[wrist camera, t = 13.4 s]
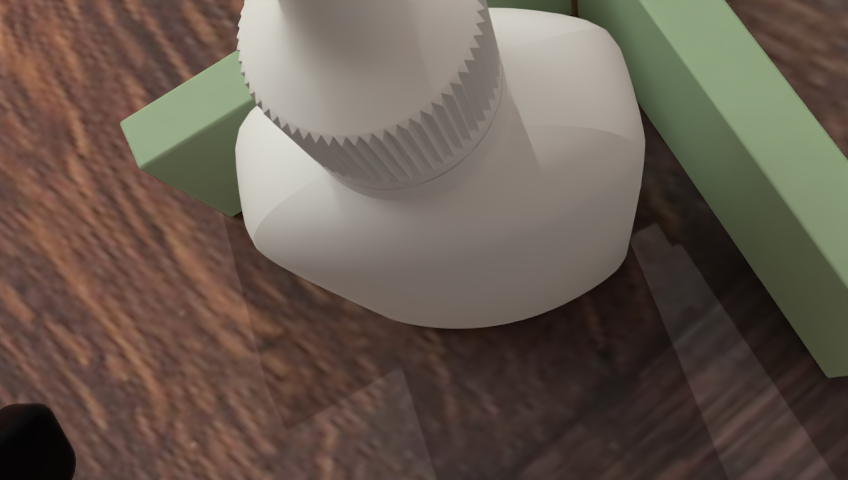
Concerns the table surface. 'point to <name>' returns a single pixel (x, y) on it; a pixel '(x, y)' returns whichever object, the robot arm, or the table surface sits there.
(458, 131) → the eye dropper bottle
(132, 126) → the corner rail
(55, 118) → the table surface
